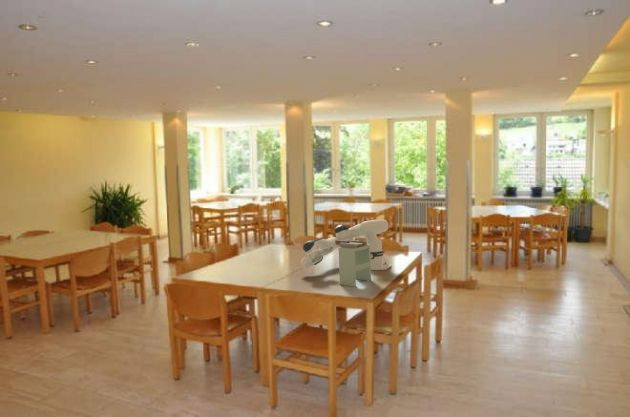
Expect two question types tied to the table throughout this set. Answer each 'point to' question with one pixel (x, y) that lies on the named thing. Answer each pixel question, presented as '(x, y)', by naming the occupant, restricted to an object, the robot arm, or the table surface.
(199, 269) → the table surface
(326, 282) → the table surface
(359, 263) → the stand
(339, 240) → the board with handle
